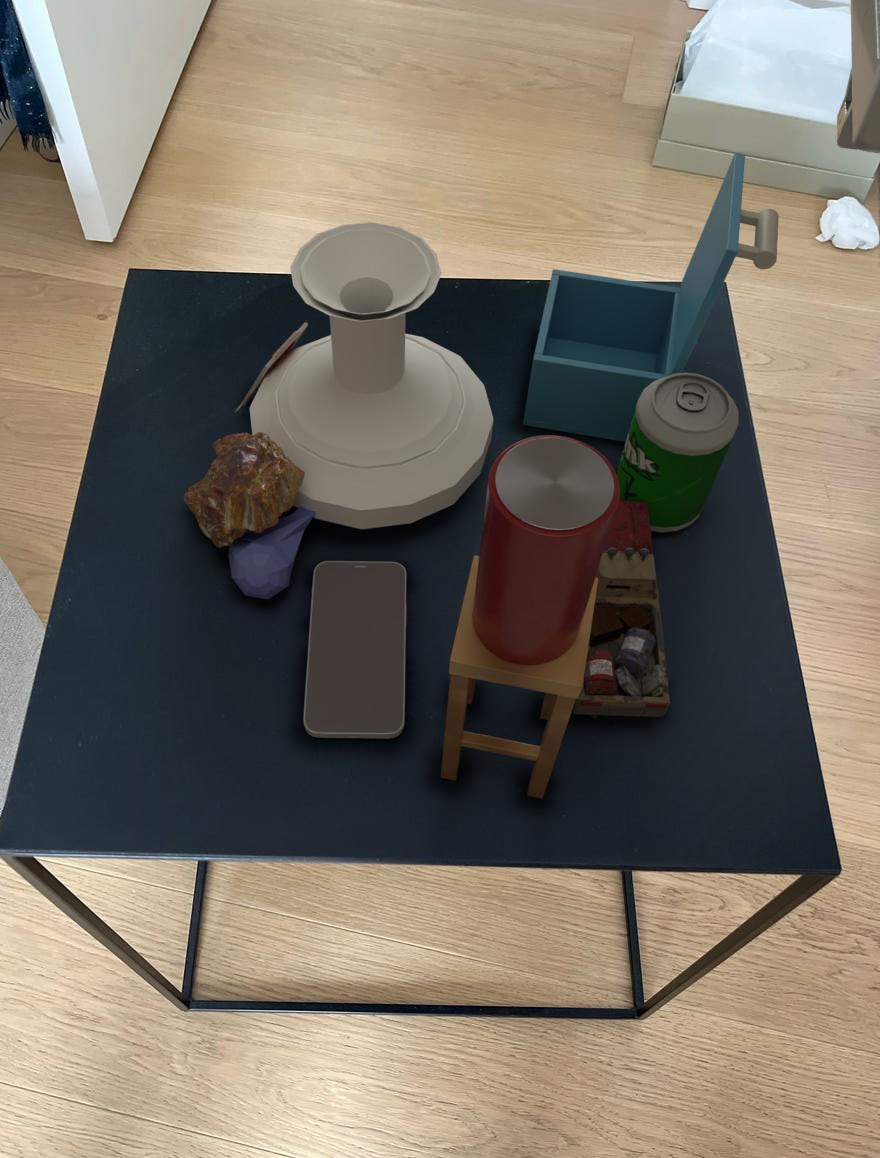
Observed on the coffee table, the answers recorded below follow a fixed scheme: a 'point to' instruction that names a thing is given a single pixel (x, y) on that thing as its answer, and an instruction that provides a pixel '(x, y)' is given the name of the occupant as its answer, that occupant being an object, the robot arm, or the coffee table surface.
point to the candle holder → (373, 387)
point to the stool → (552, 678)
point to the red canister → (541, 546)
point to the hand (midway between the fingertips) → (848, 136)
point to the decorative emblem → (273, 363)
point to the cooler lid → (720, 258)
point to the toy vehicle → (626, 626)
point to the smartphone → (356, 651)
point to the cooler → (599, 352)
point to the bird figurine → (268, 555)
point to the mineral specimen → (244, 488)
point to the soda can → (676, 448)
